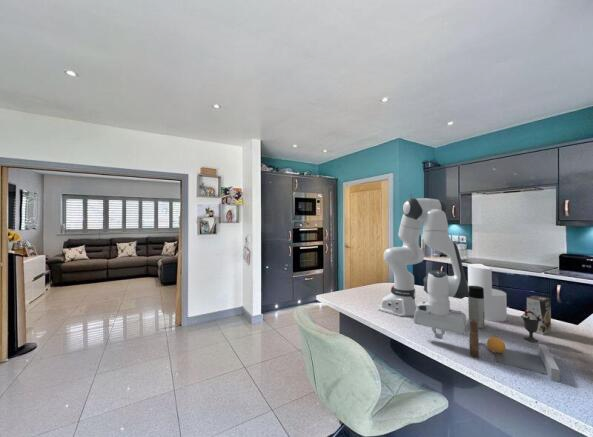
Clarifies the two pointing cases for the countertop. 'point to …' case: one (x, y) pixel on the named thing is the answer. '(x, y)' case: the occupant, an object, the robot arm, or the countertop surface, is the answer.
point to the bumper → (549, 363)
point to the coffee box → (541, 312)
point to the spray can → (476, 305)
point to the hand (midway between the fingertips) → (438, 338)
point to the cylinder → (488, 292)
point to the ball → (496, 345)
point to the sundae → (530, 324)
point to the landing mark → (521, 360)
